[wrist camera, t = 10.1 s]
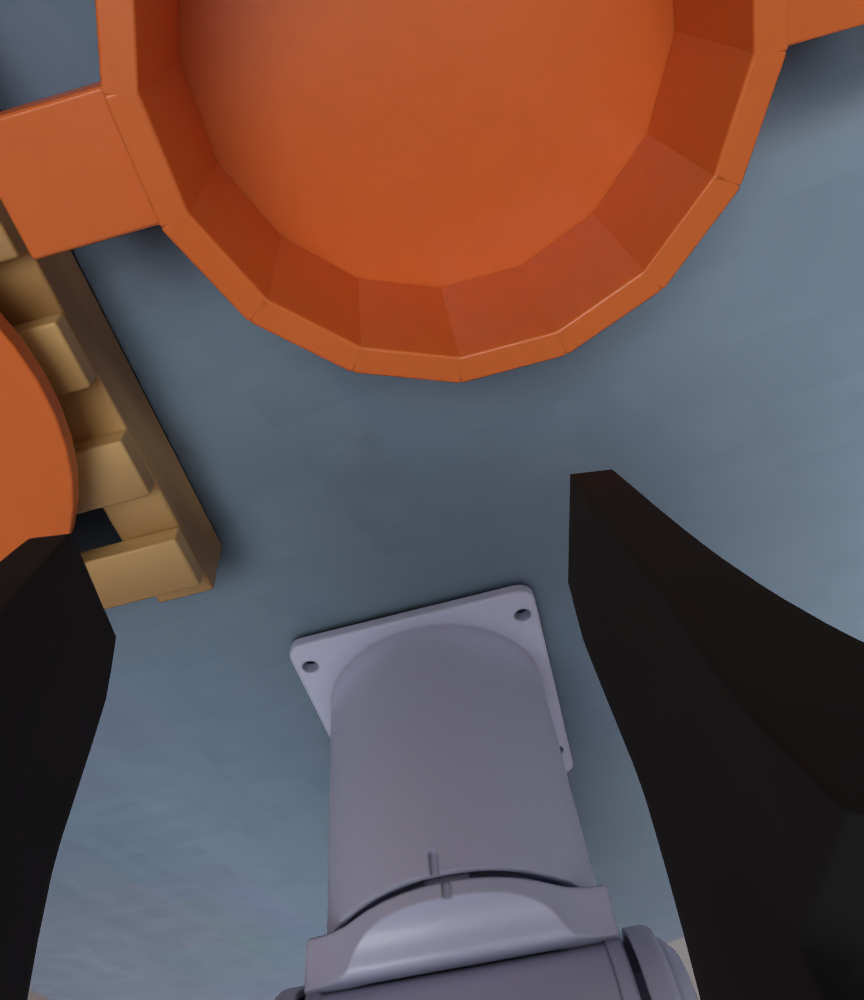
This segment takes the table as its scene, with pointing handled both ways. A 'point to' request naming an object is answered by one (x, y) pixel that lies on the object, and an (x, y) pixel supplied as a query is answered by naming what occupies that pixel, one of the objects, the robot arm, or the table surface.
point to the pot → (412, 160)
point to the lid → (32, 450)
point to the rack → (108, 433)
